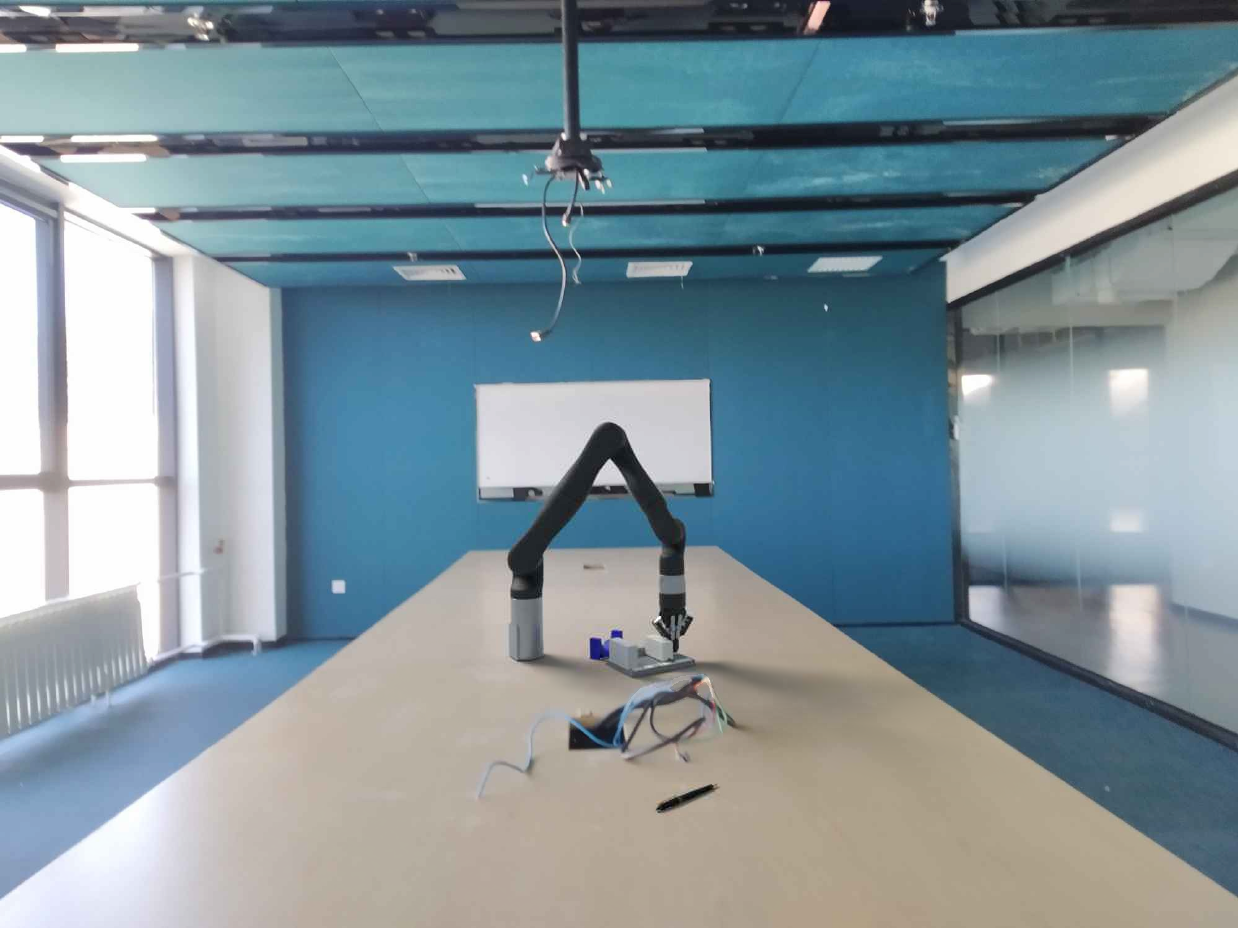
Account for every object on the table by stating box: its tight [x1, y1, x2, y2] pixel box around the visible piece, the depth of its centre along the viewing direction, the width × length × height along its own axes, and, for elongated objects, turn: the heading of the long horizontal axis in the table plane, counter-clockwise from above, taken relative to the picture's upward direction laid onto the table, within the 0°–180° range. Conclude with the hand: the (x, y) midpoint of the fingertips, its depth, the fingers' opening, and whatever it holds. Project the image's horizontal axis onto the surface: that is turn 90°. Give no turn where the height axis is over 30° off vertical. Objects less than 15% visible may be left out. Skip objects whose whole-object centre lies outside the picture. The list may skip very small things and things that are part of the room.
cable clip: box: [589, 629, 624, 661], centre depth 206 cm, size 12×4×6 cm, turn 145°
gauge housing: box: [605, 637, 696, 679], centre depth 194 cm, size 20×14×8 cm
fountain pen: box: [655, 783, 718, 811], centre depth 118 cm, size 14×1×2 cm, turn 128°
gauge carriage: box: [644, 634, 675, 662], centre depth 195 cm, size 4×12×5 cm, turn 30°
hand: (673, 651), depth 198 cm, fingers closed
